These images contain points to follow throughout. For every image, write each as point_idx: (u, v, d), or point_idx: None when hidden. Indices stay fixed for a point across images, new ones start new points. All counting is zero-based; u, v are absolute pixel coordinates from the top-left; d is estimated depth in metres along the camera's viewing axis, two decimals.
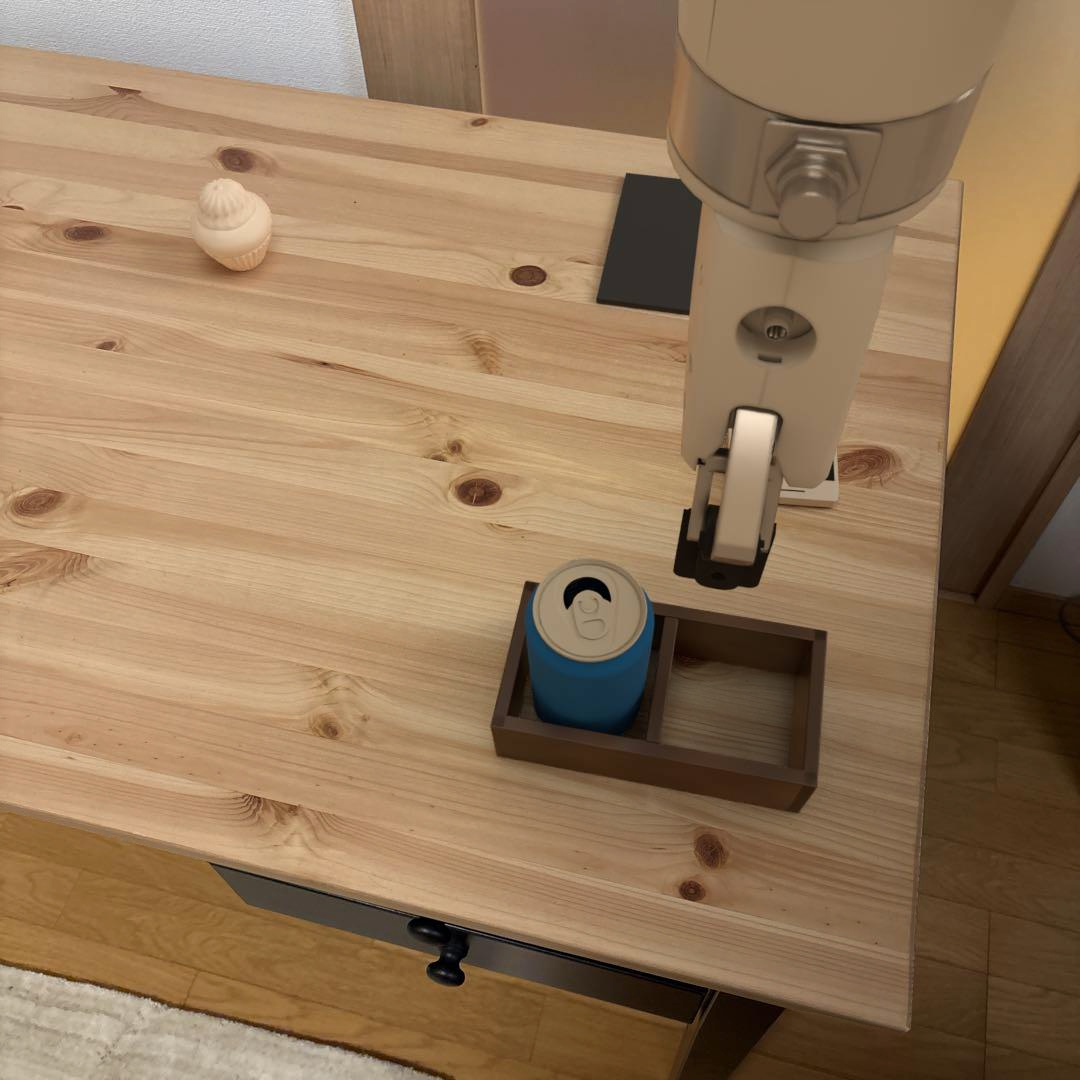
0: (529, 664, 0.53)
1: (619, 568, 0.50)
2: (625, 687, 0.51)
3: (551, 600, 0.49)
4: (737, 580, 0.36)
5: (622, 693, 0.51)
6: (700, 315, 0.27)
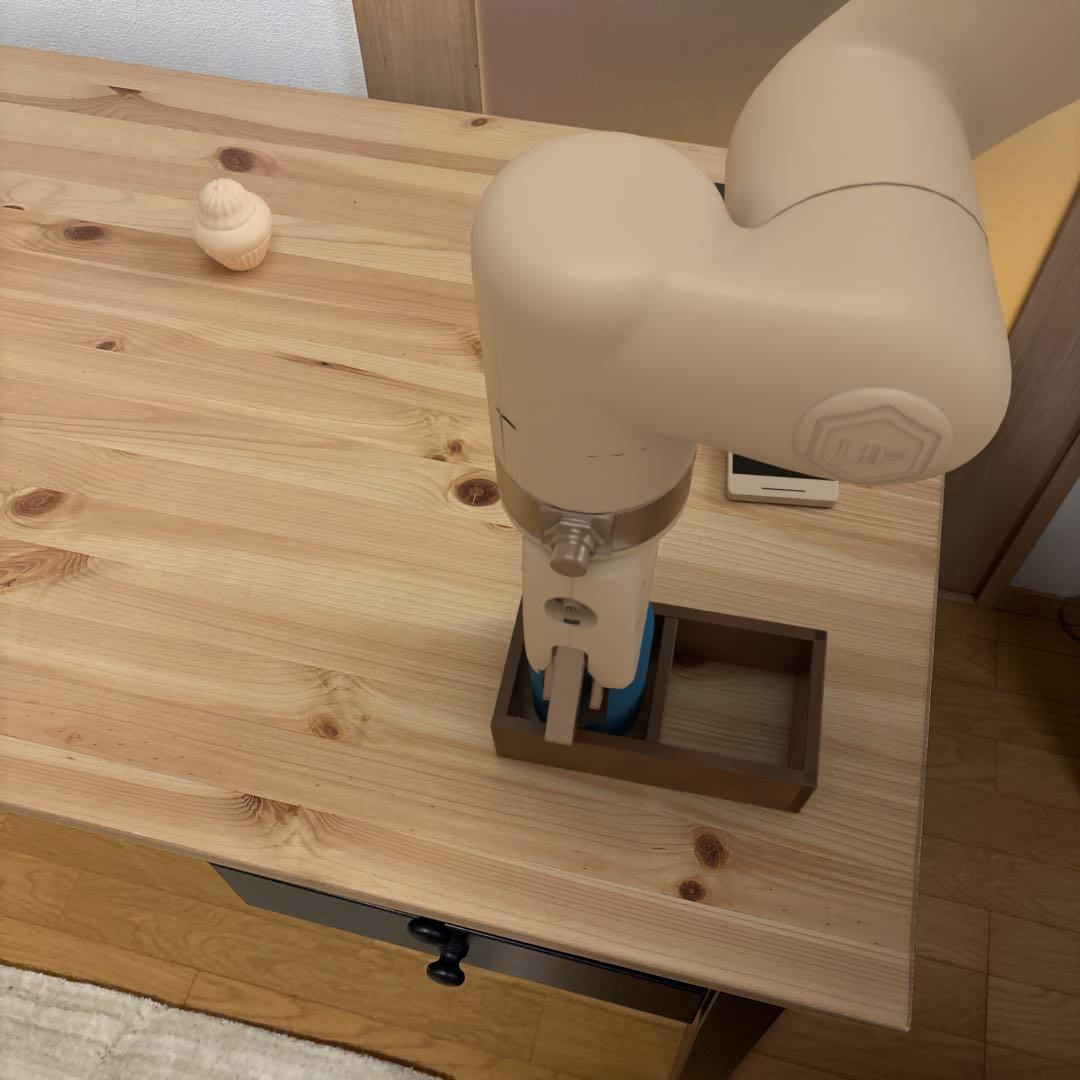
0: (529, 664, 0.53)
1: None
2: (625, 687, 0.51)
3: None
4: (586, 722, 0.49)
5: (622, 693, 0.51)
6: None
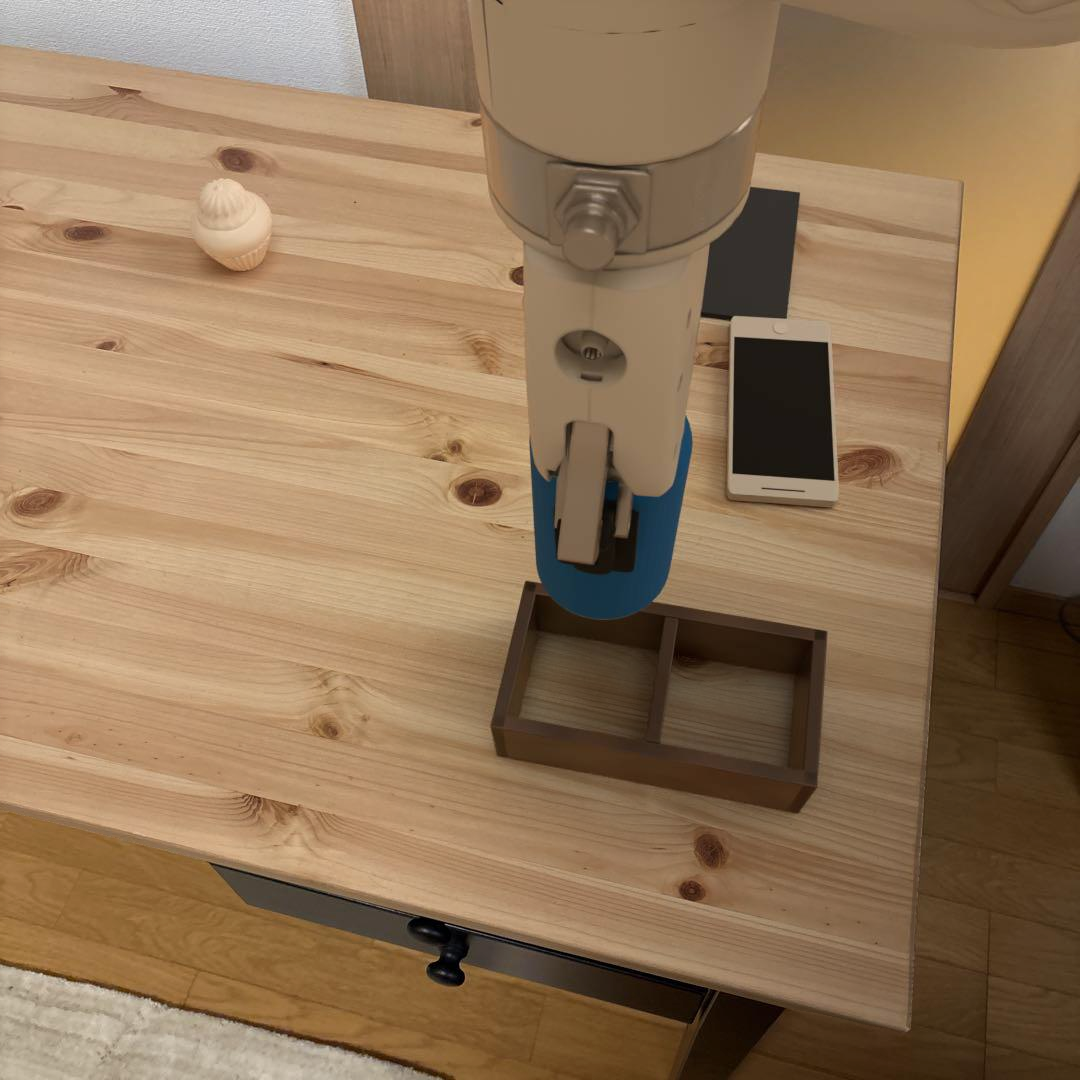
0: (534, 507, 0.43)
1: None
2: (655, 527, 0.40)
3: None
4: (610, 565, 0.39)
5: (651, 536, 0.41)
6: None
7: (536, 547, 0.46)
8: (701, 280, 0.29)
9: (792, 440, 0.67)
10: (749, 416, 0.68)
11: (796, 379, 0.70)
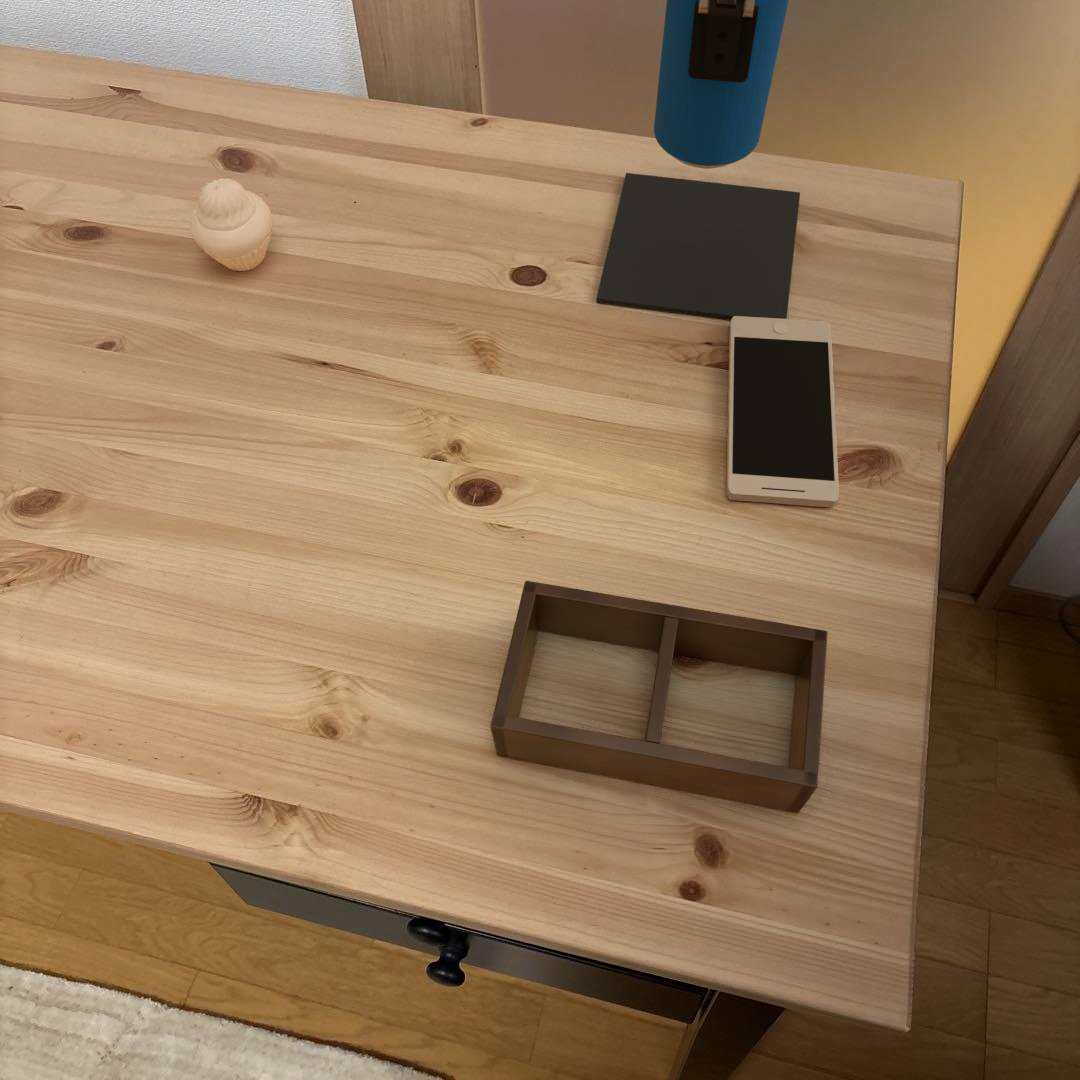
0: (665, 49, 0.56)
1: None
2: (763, 44, 0.54)
3: None
4: (733, 61, 0.52)
5: (759, 55, 0.54)
6: None
7: (660, 102, 0.59)
8: None
9: (792, 440, 0.67)
10: (749, 416, 0.68)
11: (796, 379, 0.70)
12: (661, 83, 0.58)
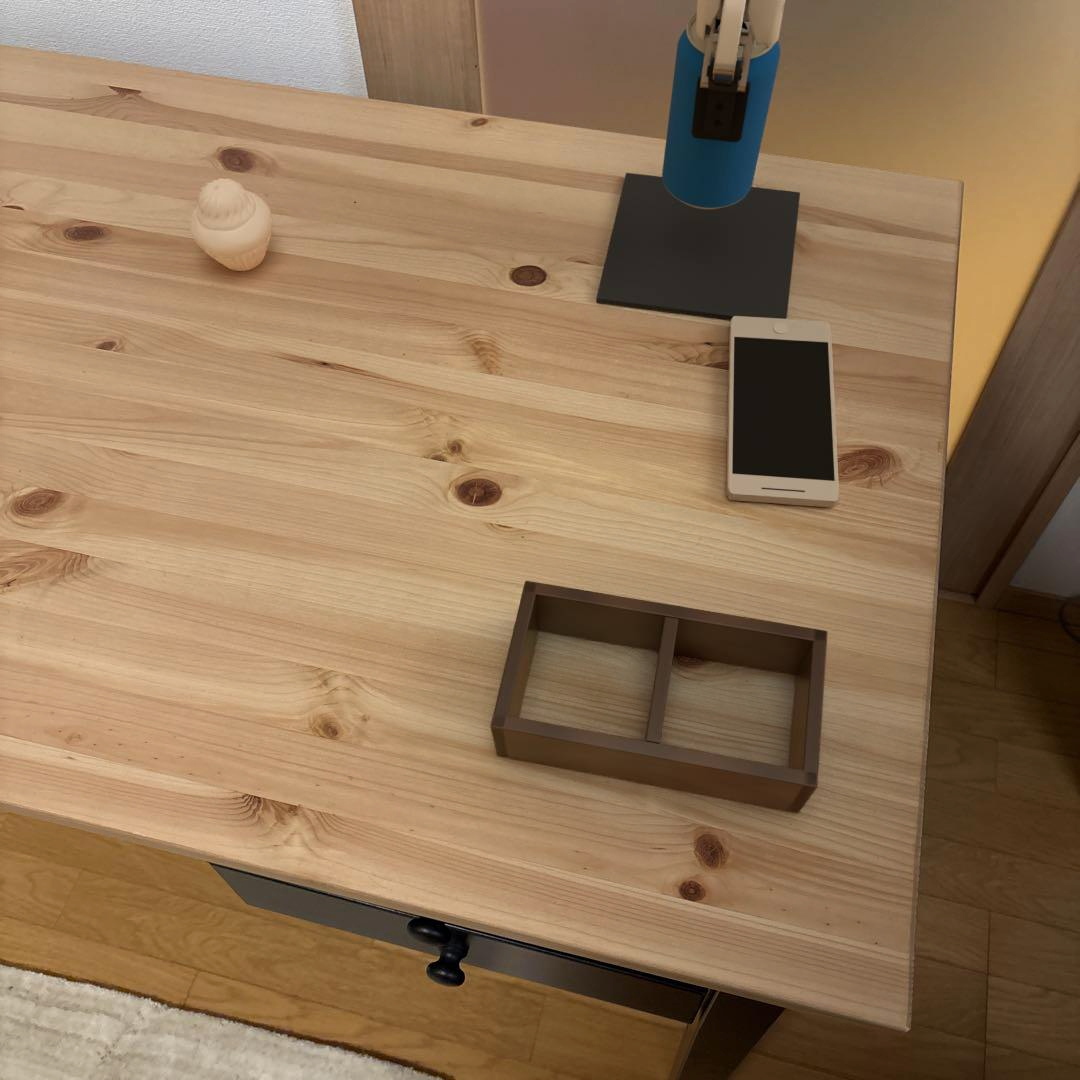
0: (672, 111, 0.66)
1: None
2: (754, 110, 0.64)
3: None
4: (729, 125, 0.63)
5: (751, 119, 0.64)
6: None
7: (667, 154, 0.69)
8: None
9: (792, 440, 0.67)
10: (749, 416, 0.68)
11: (796, 379, 0.70)
12: (669, 138, 0.68)
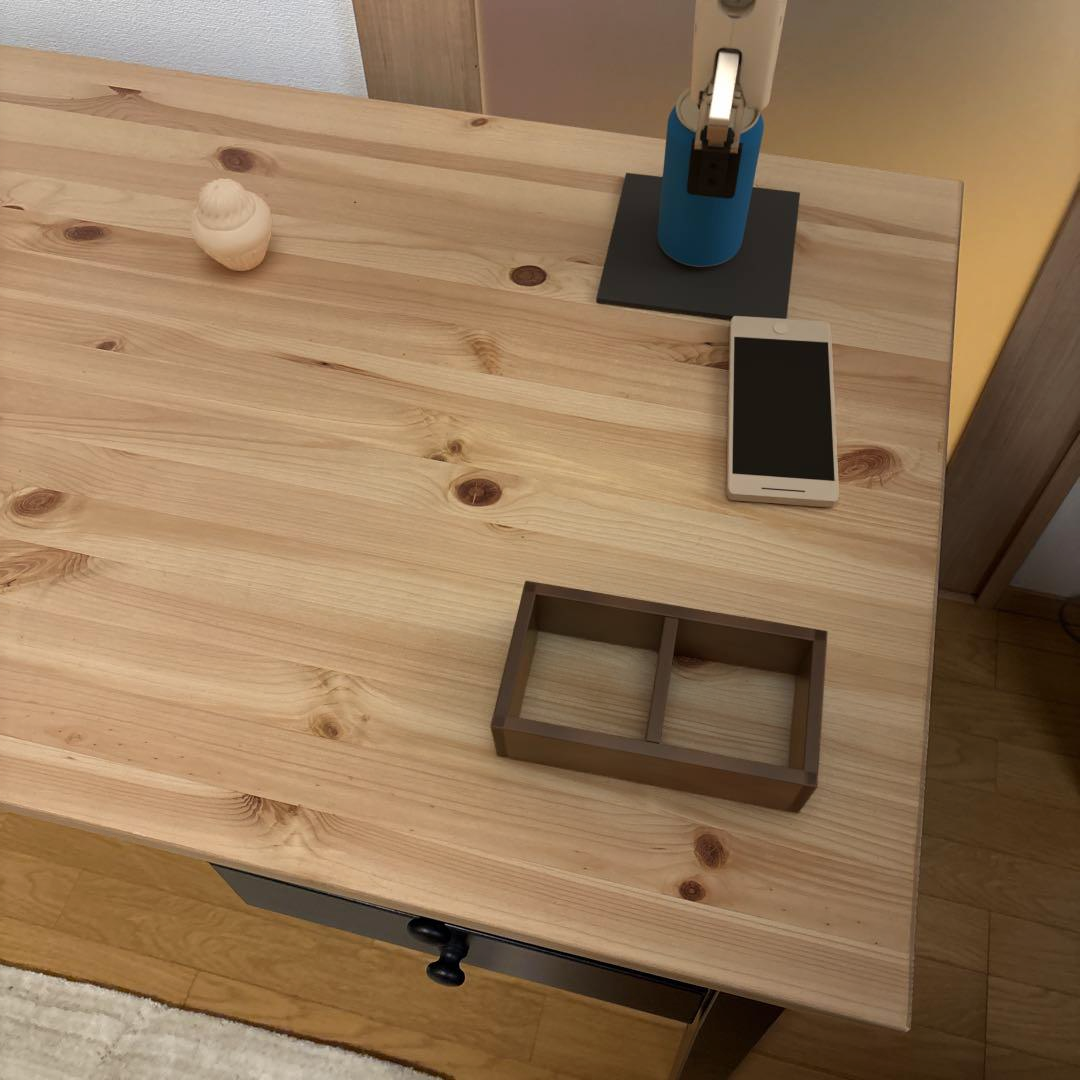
0: (665, 180, 0.71)
1: (737, 87, 0.68)
2: (741, 180, 0.69)
3: (689, 105, 0.67)
4: (722, 184, 0.65)
5: (737, 187, 0.69)
6: None
7: (661, 217, 0.74)
8: None
9: (792, 440, 0.67)
10: (749, 416, 0.68)
11: (796, 379, 0.70)
12: (662, 203, 0.73)
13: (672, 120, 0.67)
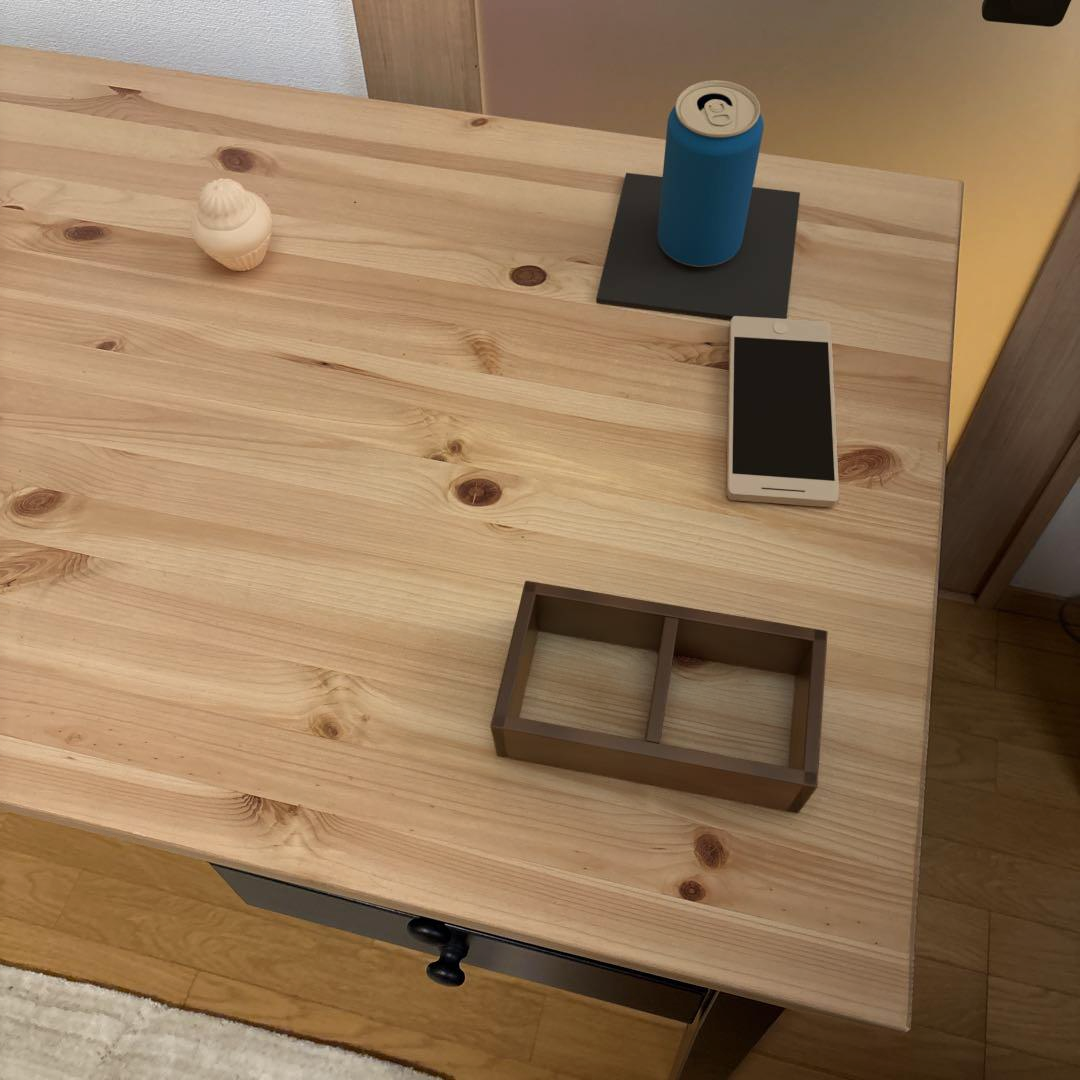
0: (664, 180, 0.71)
1: (737, 87, 0.68)
2: (740, 180, 0.69)
3: (689, 105, 0.67)
4: None
5: (737, 187, 0.69)
6: None
7: (661, 217, 0.74)
8: None
9: (792, 440, 0.67)
10: (749, 416, 0.68)
11: (796, 379, 0.70)
12: (662, 203, 0.73)
13: (672, 120, 0.67)
